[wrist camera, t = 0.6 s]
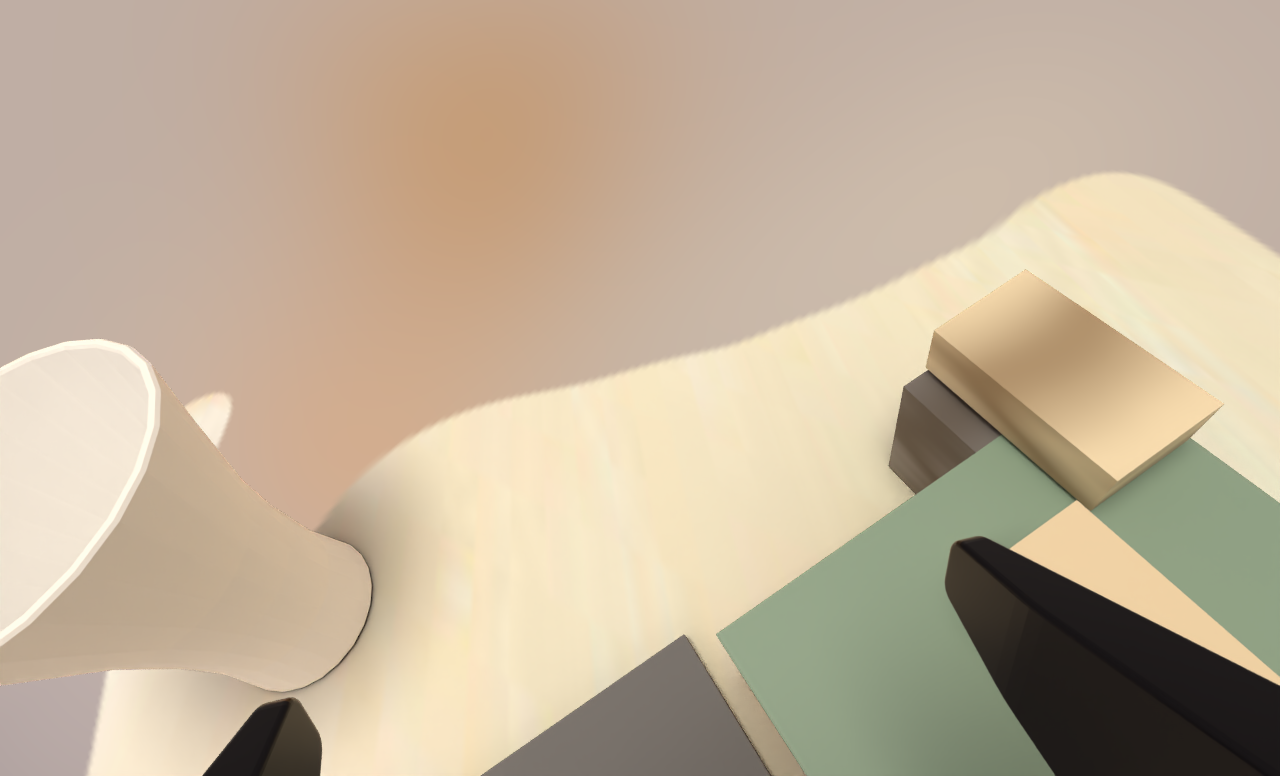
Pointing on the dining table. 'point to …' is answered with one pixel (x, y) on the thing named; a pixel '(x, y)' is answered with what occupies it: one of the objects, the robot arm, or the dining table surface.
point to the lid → (936, 639)
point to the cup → (151, 538)
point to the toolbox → (935, 432)
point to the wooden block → (1067, 387)
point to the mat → (645, 728)
